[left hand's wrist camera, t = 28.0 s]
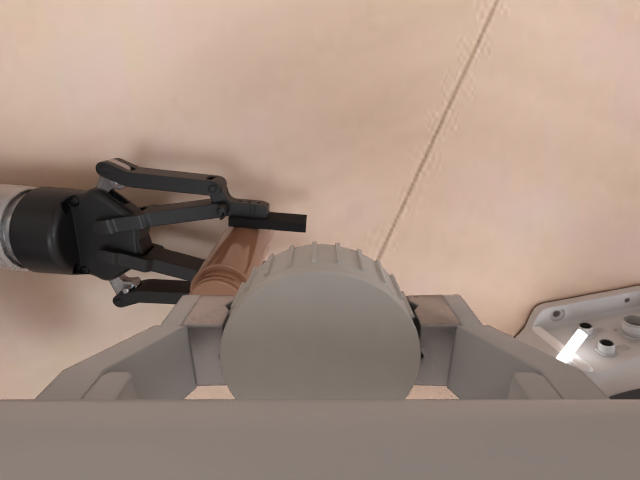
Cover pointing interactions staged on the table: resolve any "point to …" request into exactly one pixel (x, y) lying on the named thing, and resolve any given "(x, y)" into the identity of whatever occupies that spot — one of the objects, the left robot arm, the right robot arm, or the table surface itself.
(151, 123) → the table surface
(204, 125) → the table surface
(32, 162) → the table surface
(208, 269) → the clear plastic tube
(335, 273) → the lid
